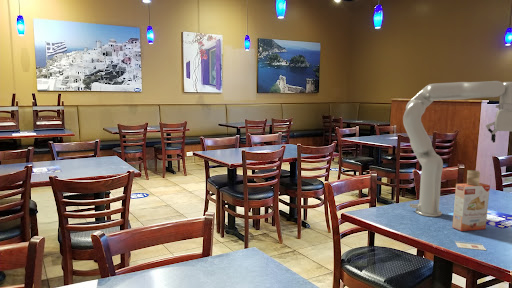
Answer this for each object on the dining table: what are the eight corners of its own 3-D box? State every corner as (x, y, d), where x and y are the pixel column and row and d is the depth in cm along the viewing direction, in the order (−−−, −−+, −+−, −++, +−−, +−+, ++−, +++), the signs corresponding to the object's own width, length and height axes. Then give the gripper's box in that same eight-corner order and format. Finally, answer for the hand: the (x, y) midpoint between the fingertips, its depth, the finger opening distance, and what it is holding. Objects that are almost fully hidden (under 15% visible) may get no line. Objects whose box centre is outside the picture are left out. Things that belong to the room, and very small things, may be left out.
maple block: (467, 184, 174) (468, 171, 173) (466, 182, 178) (467, 170, 177) (478, 185, 172) (480, 172, 171) (477, 183, 176) (478, 170, 175)
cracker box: (461, 232, 173) (465, 186, 170) (451, 227, 179) (454, 183, 176) (486, 229, 176) (490, 184, 174) (476, 225, 182) (479, 182, 180)
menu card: (458, 247, 154) (458, 246, 154) (454, 241, 161) (454, 240, 161) (486, 250, 152) (486, 249, 152) (481, 244, 158) (481, 243, 158)
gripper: (488, 107, 186) (485, 142, 188) (531, 108, 179) (528, 144, 181) (486, 107, 193) (483, 141, 195) (527, 107, 186) (524, 143, 188)
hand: (505, 142), depth 188 cm, fingers open, 9 cm apart
